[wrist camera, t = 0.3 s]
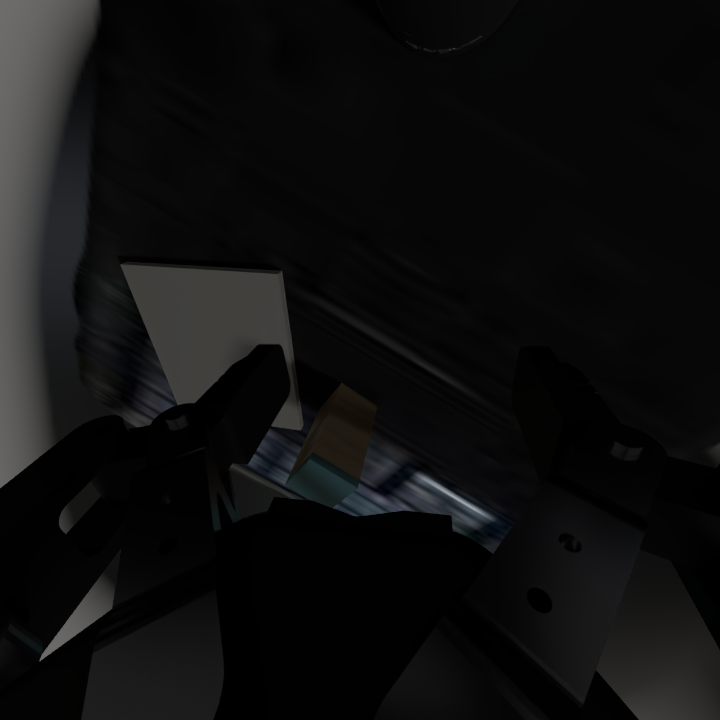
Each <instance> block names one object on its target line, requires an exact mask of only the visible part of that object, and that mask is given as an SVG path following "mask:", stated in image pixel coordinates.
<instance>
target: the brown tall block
mask: <svg viewBox="0 0 720 720" xmlns="http://www.w3.org/2000/svg"><path fill="white" fill-rule="evenodd" d="M376 410H377V406H376V405H375V404H373V403H371V402H370V401H368V400H367V399H365V398H364V397H362V396H361V395H359V394H358V393H356V392H355V391H353V390H352V389H350V388H349V387H347V386H346V385H344V384H343V383H341V384H340V385H339V386H338V388H337V389H336V390H335V391H334V392H333V393H332V395H331V396H330V397H329V398H328V399H327V400H326V402H325V403H324V404H323V405H322V406H321V408H320V410H319V412H318V414H317V416H316V418H315V421H314V423H313V425H312V427H311V429H310V432H309V434H308V436H307V438H306V440H305V442H304V445H303V447H302V449H301V451H300V453H299V456H298V458H297V460H296V462H295V464H294V467H293V469H292V471H291V473H290V475H289V477H288V480H287V482H286V485H287V486H289V487H291V488H293V489H294V490H296V491H298V492H299V493H301V494H303V495H305V496H306V497H308V498H310V499H312V500H313V501H315V502H318V503H320V504H323V505H326V506H328V507H331V508H333V507H334V506H335V505H337V504H338V503H339V502H340V501H342V500H343V499H344V498H346V497H347V496H348V495H349V494H351V493H352V492H353V491H354V490H356V489H357V488H358V484H359V480H360V476H361V472H362V468H363V464H364V459H365V455H366V451H367V447H368V443H369V439H370V435H371V430H372V426H373V422H374V418H375V414H376Z"/></svg>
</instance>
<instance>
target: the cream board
mask: <svg viewBox="0 0 720 720" xmlns="http://www.w3.org/2000/svg"><path fill="white" fill-rule="evenodd" d="M120 265H121V267H122V270H123V272H124V275H125V277H126V280H127V282H128V285H129V287H130V289H131V292H132V294H133V297H134V299H135V302H136V304H137V307H138V309H139V311H140V314H141V316H142V319H143V321H144V324H145V326H146V329H147V331H148V333H149V336H150V338H151V341H152V343H153V346H154V348H155V351H156V353H157V355H158V358H159V360H160V363H161V365H162V368H163V370H164V373H165V375H166V378H167V380H168V382H169V385H170V387H171V390H172V392H173V395H174V397H175V400H176V402H177V404H178V405H180V404H185V403H195V402H196V401H197V400H198V399H199V398H200V397H201V396H202V395H203V394H204V393H205V392H206V391H207V390H208V389H209V388H210V387H211V386H212V385H213V384H214V383H215V382H217V381H218V379H219V378H220V377H221V376H222V375H223V374H225V372H226V371H227V370H228V369H229V368H230V367H231V366H232V365H233V364H234V363H236V362H237V361H239V360H241V359H243V358H244V357H246V356H247V355H248V354H249V353H250V352H251V351H252V350H253V349H254V348H255V347H256V346H257V345H258V344H280V345H281V346H282V348H283V351H284V355H285V360H286V364H287V369H288V373H289V377H290V383H291V388H290V394H289V397H288V398H287V400H286V402H285V403H284V405H283V407H282V408H281V410H280V412H279V413H278V415H277V417H276V418H275V420H274V422H273V423H272V425H271V426H274V427H281V428H288V429H294V430H301V429H302V427H303V418H302V411H301V404H300V397H299V390H298V383H297V375H296V368H295V361H294V354H293V347H292V340H291V333H290V325H289V318H288V311H287V304H286V297H285V290H284V282H283V275H282V271H278V270H261V269H244V268H227V267H210V266H194V265H177V264H160V263H143V262H126V263H123V264H120Z"/></svg>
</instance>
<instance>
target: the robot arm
mask: <svg viewBox="0 0 720 720" xmlns="http://www.w3.org/2000/svg"><path fill="white" fill-rule="evenodd" d="M375 1H376V3H377V5H378V8H379V10H380V12H381V14H382V16H383V18H384V20H385V22H386V24H387V26H388V28H389V30H390V31H391V32H392V33H393V35H394V36H395V37H396V38H397V40H398V41H399V42H400V43H401V44H403V45H404V46H405V47H407V48H408V49H409V50H411V51H412V52H414V53H417V54H419V55H422V56H424V57H427V58H439V59H443V58H448V57H454V56H458V55H460V54H463V53H465V52H467V51H469V50H471V49H473V48H475V47H476V46H478V45H479V44H480V43H482V42H483V41H484V40H486V39H487V38H488V37H490V36H491V35H492V34H493V32H494V31H495V30H496V29H497V28H498V27H499V26H500V25H501V24H502V23H503V22H504V21H505V19H506V18H507V16H508V15H509V13H510V12H511V11H512V9H513V8H514V6H515V5H516V3H517V2H518V0H375ZM290 388H291V383H290V377H289V373H288V369H287V364H286V360H285V355H284V351H283V348H282V346H281V345H280V344H258V345H257V346H256V347H255V348H254V349H253V350H252V351H251V352H250V353H249V354H248V355H247V356H246V357H244V358H243V359H241V360H239V361H237V362H236V363H234V364H233V365H232V366H231V367H230V368H229V369H228V370H227V371H226V372H225V374H223V375H222V376H221V377H220V378H219V379H218V381H217V382H215V383H214V384H213V385H212V386H211V387H210V388H209V389H208V390H207V391H206V392H205V393H204V394H203V395H202V396H201V397H200V398H199V399H198V400H197V401H196V402H195V403H185V404H180V405H177V406H174V407H172V408H169V409H167V410H166V411H164V412H162V413H161V414H159V415H158V416H157V417H156V418H155V419H154V420H153V421H152V423H151V425H149V426H143V427H137V428H131V429H129V428H128V427H127V425H126V423H125V421H124V420H123V418H122V417H120V416H117V415H109V416H104V417H100V418H96V419H94V420H91V421H89V422H87V423H85V424H83V425H81V426H79V427H78V428H76V429H75V430H73V431H72V432H71V433H69V434H68V435H67V436H66V437H64V438H63V439H62V440H61V441H60V442H58V443H57V444H56V445H54V446H53V447H52V448H51V449H49V450H48V451H47V452H46V453H44V454H43V455H42V456H40V457H39V458H38V459H37V460H35V461H34V462H33V463H32V464H30V465H29V466H28V467H27V468H26V469H24V470H23V471H22V472H20V473H19V474H18V475H17V476H15V477H14V478H13V479H12V480H10V481H9V482H8V483H7V484H5V485H4V486H3V487H2V488H0V720H638V718H637V717H636V716H635V715H634V714H633V712H632V711H631V710H630V709H629V708H628V707H627V706H626V705H625V703H624V702H623V701H622V700H621V698H620V697H619V696H618V695H617V694H616V693H615V692H614V690H613V689H612V688H611V687H610V686H609V685H608V683H607V682H606V681H605V680H604V679H603V678H602V676H601V675H600V674H599V673H598V672H597V671H596V668H597V665H598V662H599V659H600V656H601V654H602V651H603V648H604V645H605V643H606V640H607V637H608V634H609V632H610V629H611V626H612V623H613V621H614V618H615V615H616V612H617V609H618V607H619V604H620V601H621V598H622V596H623V593H624V590H625V587H626V584H627V582H628V579H629V576H630V573H631V570H632V568H633V565H634V562H635V560H636V556H637V554H638V551H639V549H641V550H643V551H646V552H649V553H651V554H654V555H657V556H660V557H662V558H665V559H668V560H671V562H672V564H673V566H674V567H675V569H676V571H677V573H678V575H679V576H680V578H681V580H682V582H683V584H684V585H685V587H686V589H687V591H688V593H689V595H690V596H691V598H692V600H693V602H694V604H695V606H696V607H697V609H698V611H699V613H700V615H701V617H702V618H703V620H704V622H705V624H706V626H707V627H708V629H709V631H710V633H711V635H712V636H713V638H714V640H715V642H716V644H717V646H718V647H719V649H720V464H719V466H718V467H717V469H716V468H712V467H708V466H704V465H700V464H696V463H692V462H688V461H684V460H680V459H676V458H673V457H669V456H667V453H666V451H665V449H664V448H663V447H662V446H661V444H659V443H658V442H657V441H656V440H655V439H654V438H652V437H651V436H649V435H647V434H646V433H644V432H642V431H640V430H637V429H635V428H632V427H629V426H626V425H622V424H621V423H620V422H619V421H618V419H617V418H616V417H615V415H614V414H613V413H612V411H611V410H610V409H609V407H608V406H607V405H606V403H605V402H604V401H603V399H602V398H601V397H600V395H597V391H596V390H595V388H594V387H593V386H592V385H590V382H589V380H588V379H587V378H586V376H585V375H584V374H583V372H581V371H580V370H578V369H577V368H575V367H574V366H572V365H570V364H569V363H560V362H559V361H558V359H557V358H556V356H555V355H554V353H553V352H552V350H551V349H550V348H549V347H529V346H522V347H521V348H520V350H519V353H518V359H517V364H516V370H515V375H514V381H513V386H512V404H513V408H514V411H515V413H516V416H517V419H518V422H519V425H520V428H521V430H522V433H523V436H524V439H525V442H526V444H527V447H528V450H529V453H530V456H531V459H532V461H533V464H534V467H535V470H536V473H537V476H538V478H539V481H540V484H541V486H540V488H539V489H538V491H537V492H536V494H535V495H534V496H533V498H532V499H531V501H530V502H529V504H528V505H527V506H526V508H525V509H524V511H523V512H522V514H521V515H520V516H519V518H518V519H517V521H516V522H515V524H514V525H513V526H512V528H511V529H510V531H509V532H508V534H507V535H506V536H505V538H504V539H503V541H502V542H501V544H500V545H499V547H498V548H497V549H496V551H495V552H494V554H492V553H491V552H489V551H488V550H487V549H486V548H484V547H483V546H481V545H480V544H478V543H477V542H475V541H473V540H471V539H469V538H467V537H465V536H463V535H461V534H459V533H456V532H453V531H452V517H451V516H450V515H441V514H431V513H422V512H412V511H398V512H390V513H383V514H375V515H367V516H358V517H357V516H352V515H349V514H347V513H344V512H341V511H339V510H336V509H333V508H331V507H328V506H326V505H323V504H320V503H318V502H315V501H307V500H298V499H288V498H279V497H274V499H273V501H272V503H271V505H270V507H269V510H268V511H267V512H262V513H258V514H254V515H251V516H248V517H245V518H243V519H241V520H240V517H239V512H238V507H237V502H236V497H235V492H234V487H233V482H232V477H231V474H230V472H229V468H230V466H231V465H232V463H236V464H247V465H248V463H249V462H250V460H251V458H252V457H253V455H254V453H255V452H256V450H257V448H258V447H259V445H260V443H261V442H262V440H263V438H264V437H265V435H266V433H267V432H268V430H269V428H270V427H271V425H272V423H273V422H274V420H275V418H276V417H277V415H278V413H279V412H280V410H281V408H282V407H283V405H284V403H285V402H286V400H287V398H288V397H289V394H290ZM89 482H91V483H92V484H93V486H94V487H95V489H96V490H97V491H98V493H99V494H100V495H101V497H100V498H99V499H98V500H97V501H96V502H95V503H94V505H93V506H92V507H91V508H90V509H89V510H88V511H87V512H86V513H85V514H84V515H83V517H81V519H80V520H79V521H78V522H77V523H76V524H75V525H74V526H73V527H72V528H71V529H70V531H69V532H68V533H67V534H65V533H64V532H63V531H62V530H61V529H60V526H59V517H60V514H61V512H62V510H63V509H64V507H65V506H66V505H67V504H68V503H69V502H70V501H71V500H72V499H73V498H74V497H75V496H76V495H77V494H78V493H79V492H80V491H81V490H82V489H83V488H84V487H85V486H86V485H87V484H88V483H89ZM120 549H121V553H120V559H119V566H118V573H117V580H116V586H115V593H114V600H113V607H112V610H110V611H109V612H107V613H106V614H105V615H103V616H102V617H101V618H99V619H98V620H96V621H95V622H94V623H92V624H91V625H89V626H88V627H87V628H85V629H84V630H83V631H81V632H80V633H78V634H77V635H76V636H74V637H73V638H72V639H70V640H69V641H67V642H66V643H65V644H63V645H62V646H61V647H59V648H58V649H56V650H55V651H54V652H52V653H51V654H49V655H48V656H47V657H45V658H44V659H43V660H41V661H40V662H39V660H40V658H41V655H42V653H43V652H44V651H45V649H46V648H47V647H48V645H49V644H50V643H51V641H52V640H53V639H54V637H55V636H56V635H57V633H58V632H59V631H60V629H61V628H62V627H63V625H64V624H65V623H66V621H67V620H68V619H69V617H70V616H71V615H72V613H73V612H74V610H75V609H76V608H77V606H78V605H79V604H80V602H81V601H82V600H83V598H84V597H85V596H86V594H87V593H88V592H89V590H90V589H91V588H92V586H93V585H94V584H95V582H96V581H97V580H98V578H99V577H100V576H101V574H102V573H103V572H104V570H105V569H106V567H107V566H108V565H109V563H110V562H111V561H112V559H113V558H114V557H115V555H116V554H117V553H118V551H119V550H120Z"/></svg>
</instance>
